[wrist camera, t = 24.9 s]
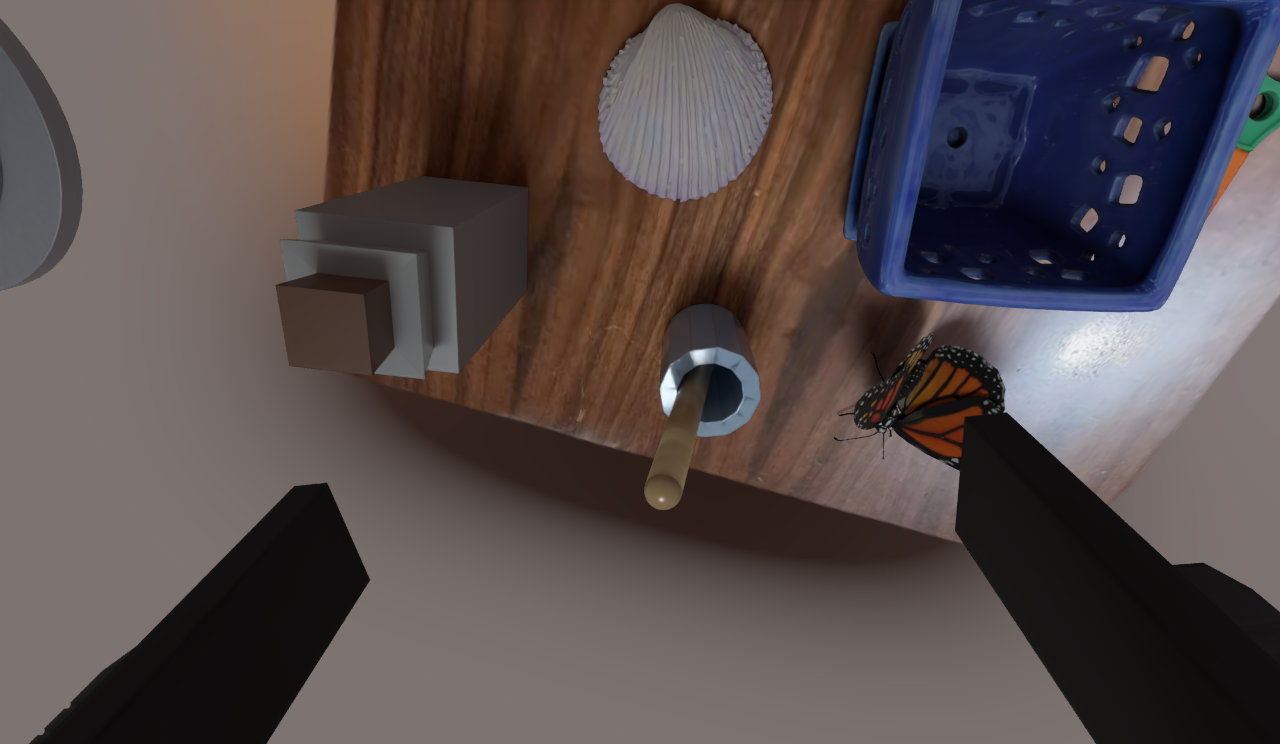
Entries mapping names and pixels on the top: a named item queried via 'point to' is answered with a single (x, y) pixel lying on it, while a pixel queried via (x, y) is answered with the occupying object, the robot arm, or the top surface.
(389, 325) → the perfume bottle
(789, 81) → the top surface
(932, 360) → the butterfly
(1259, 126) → the magnifying glass
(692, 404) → the stick
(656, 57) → the seashell
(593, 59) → the top surface
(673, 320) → the holder
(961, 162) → the flower pot
